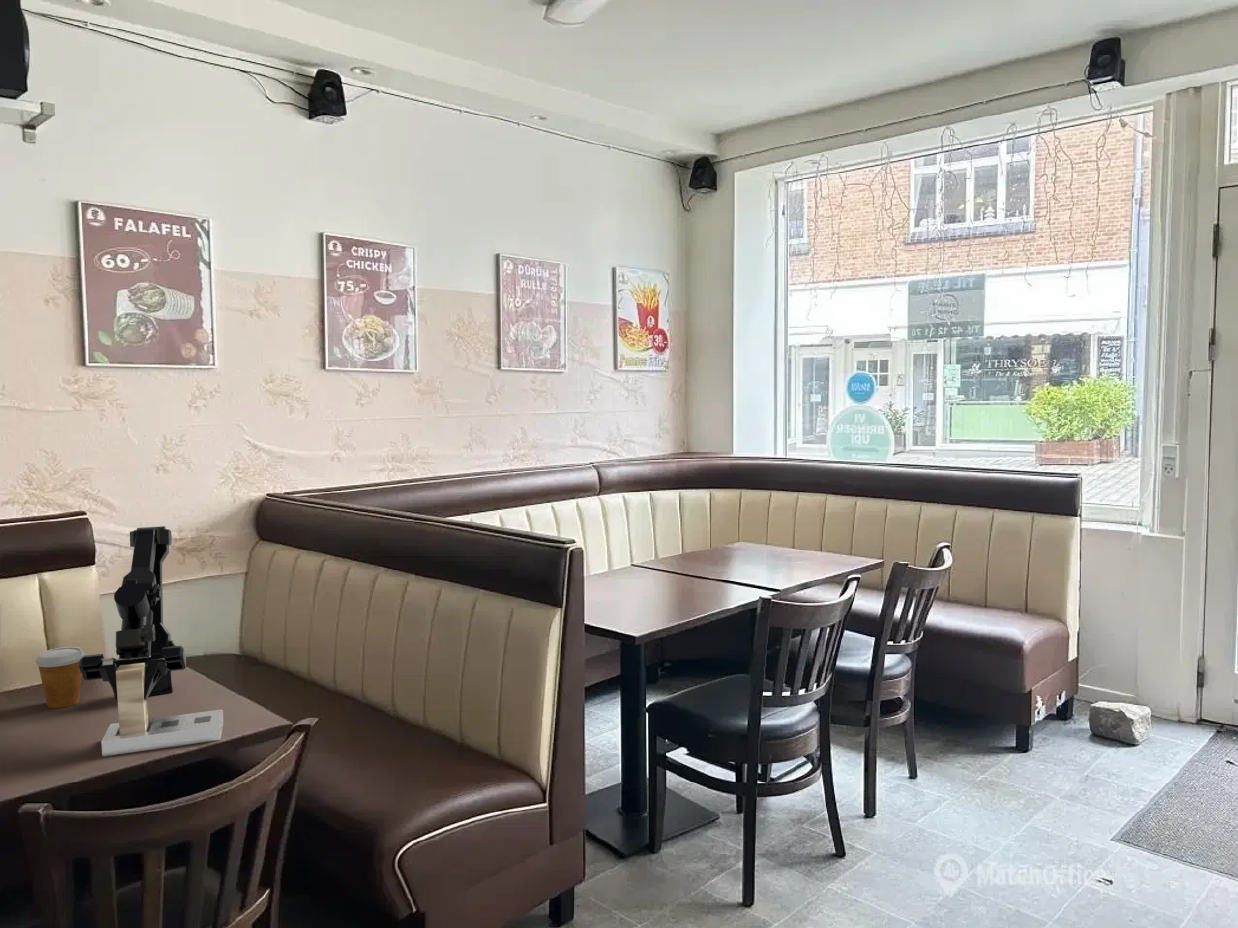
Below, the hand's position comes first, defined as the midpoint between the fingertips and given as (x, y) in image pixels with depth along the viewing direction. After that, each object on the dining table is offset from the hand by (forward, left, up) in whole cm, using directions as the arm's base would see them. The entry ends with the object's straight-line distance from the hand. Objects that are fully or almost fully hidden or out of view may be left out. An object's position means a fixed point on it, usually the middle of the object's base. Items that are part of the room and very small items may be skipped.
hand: (131, 700), depth 177 cm
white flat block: (-6, -1, -9) cm, 11 cm away
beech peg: (0, -1, -7) cm, 7 cm away
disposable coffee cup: (+14, -37, -9) cm, 41 cm away
